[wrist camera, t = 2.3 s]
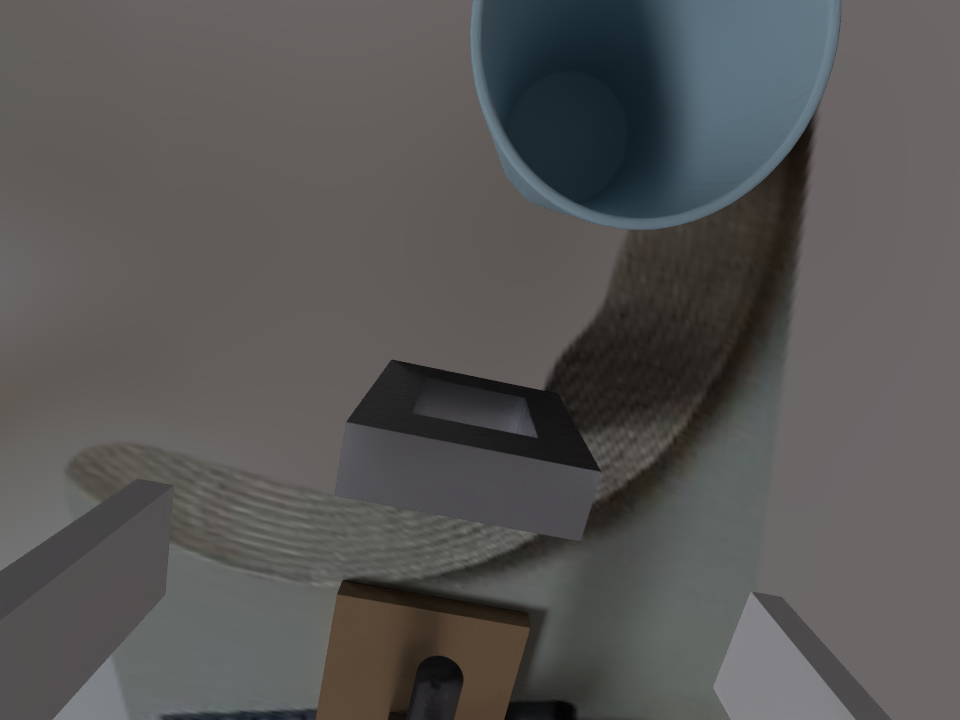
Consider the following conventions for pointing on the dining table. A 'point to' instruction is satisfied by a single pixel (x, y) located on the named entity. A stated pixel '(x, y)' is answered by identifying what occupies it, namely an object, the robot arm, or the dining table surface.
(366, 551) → the dining table surface
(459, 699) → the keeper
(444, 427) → the link
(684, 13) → the cup
